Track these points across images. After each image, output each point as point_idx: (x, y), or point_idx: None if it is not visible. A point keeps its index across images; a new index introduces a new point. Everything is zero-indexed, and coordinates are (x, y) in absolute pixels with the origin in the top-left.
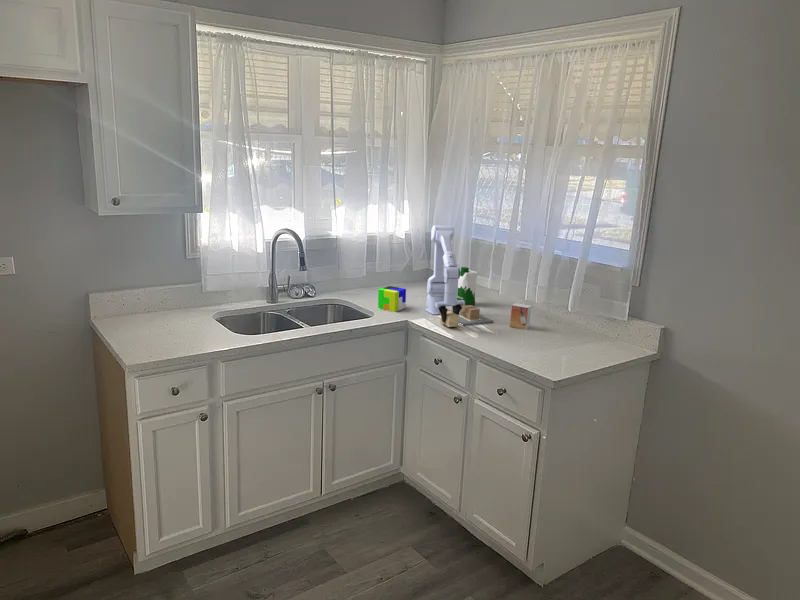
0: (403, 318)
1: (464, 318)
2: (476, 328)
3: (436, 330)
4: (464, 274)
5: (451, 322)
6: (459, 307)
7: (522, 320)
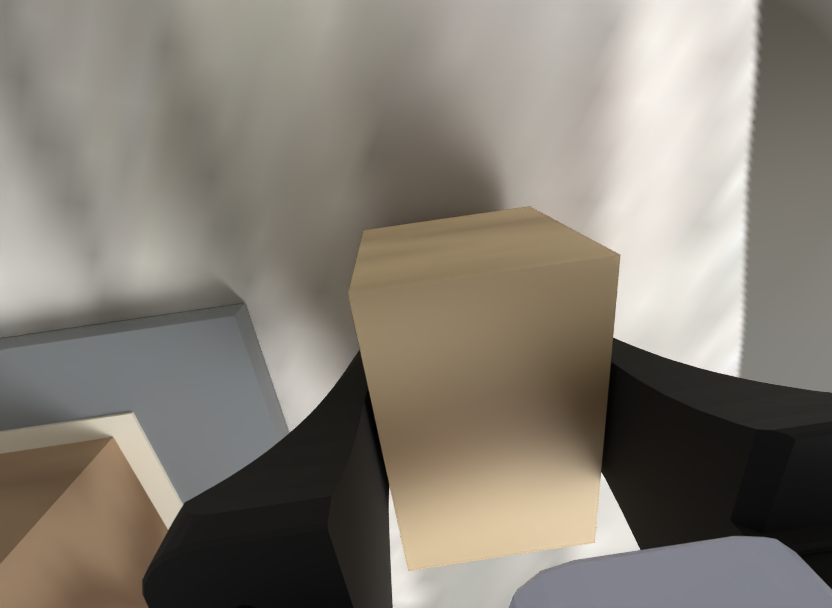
0: None
1: (177, 501)
2: (71, 146)
3: (713, 173)
4: None
5: (506, 228)
6: (270, 523)
7: None
